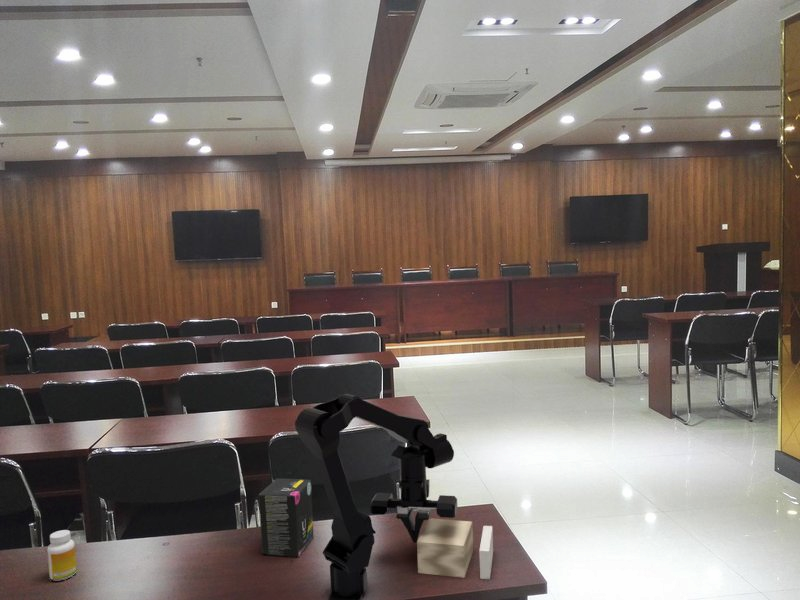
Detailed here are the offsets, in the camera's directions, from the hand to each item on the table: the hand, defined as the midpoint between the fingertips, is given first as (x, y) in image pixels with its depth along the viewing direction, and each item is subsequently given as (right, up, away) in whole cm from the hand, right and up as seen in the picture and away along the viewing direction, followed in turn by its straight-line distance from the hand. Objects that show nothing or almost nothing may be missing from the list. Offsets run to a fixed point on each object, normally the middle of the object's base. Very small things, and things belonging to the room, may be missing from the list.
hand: (415, 542), depth 138 cm
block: (+7, -4, -1) cm, 8 cm away
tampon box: (-30, -5, +10) cm, 32 cm away
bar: (+16, -4, -3) cm, 16 cm away
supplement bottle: (-78, -8, -1) cm, 78 cm away
